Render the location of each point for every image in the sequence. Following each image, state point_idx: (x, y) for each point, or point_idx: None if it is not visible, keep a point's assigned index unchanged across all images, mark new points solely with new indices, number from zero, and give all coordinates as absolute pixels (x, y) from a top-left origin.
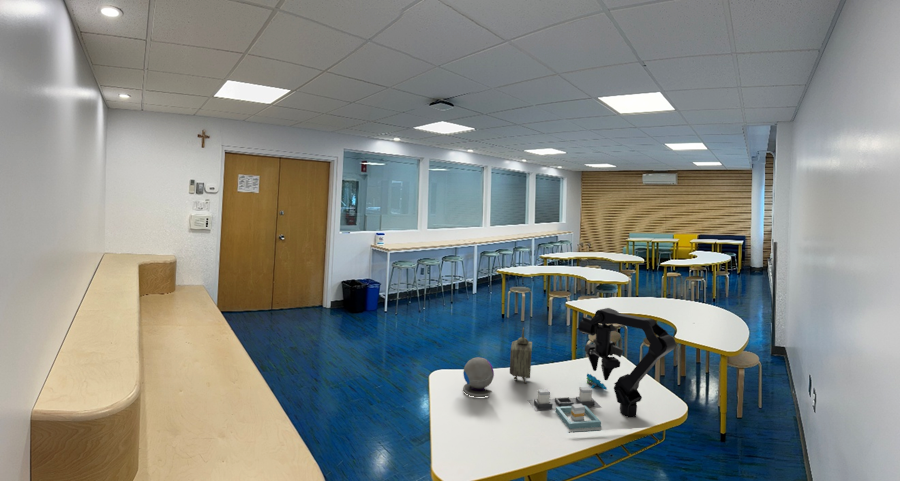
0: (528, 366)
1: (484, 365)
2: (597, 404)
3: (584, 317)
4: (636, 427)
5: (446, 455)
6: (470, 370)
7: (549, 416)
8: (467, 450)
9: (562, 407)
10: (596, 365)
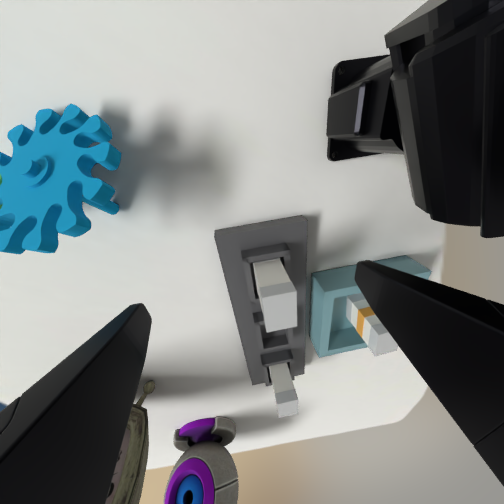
0: (140, 472)
1: None
2: (282, 229)
3: None
4: None
5: (375, 422)
6: None
7: (311, 344)
8: (374, 413)
9: (324, 345)
10: (109, 361)
